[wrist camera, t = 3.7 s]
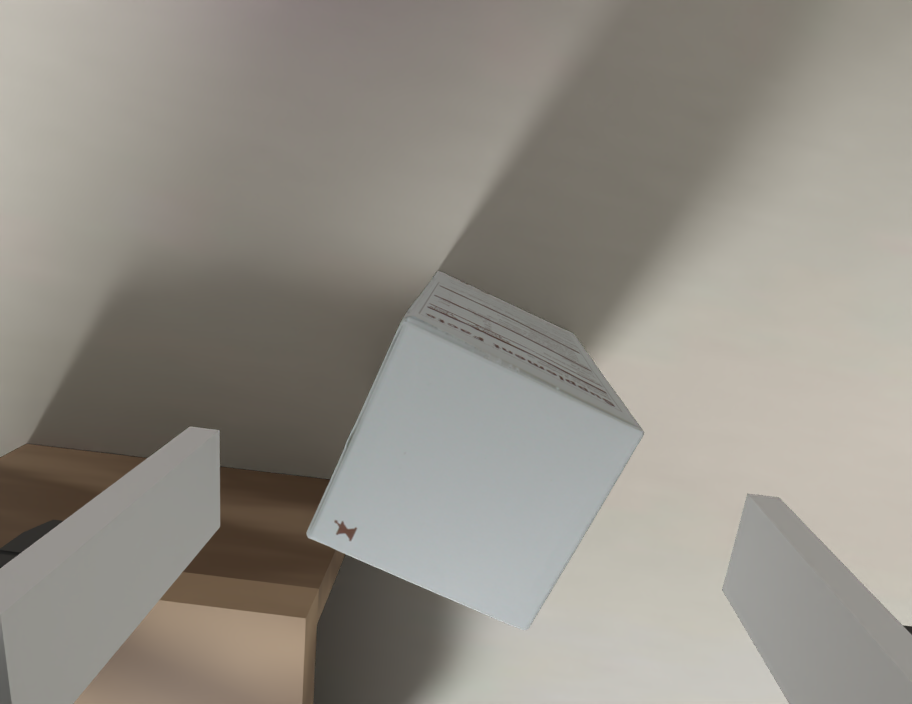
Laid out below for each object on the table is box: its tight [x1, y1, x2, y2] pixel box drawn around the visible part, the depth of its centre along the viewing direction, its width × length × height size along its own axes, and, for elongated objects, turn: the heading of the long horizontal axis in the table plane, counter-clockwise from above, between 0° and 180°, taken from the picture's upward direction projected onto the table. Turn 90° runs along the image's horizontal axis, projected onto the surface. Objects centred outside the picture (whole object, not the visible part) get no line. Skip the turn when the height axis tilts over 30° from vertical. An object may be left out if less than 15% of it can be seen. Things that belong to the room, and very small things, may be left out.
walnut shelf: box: [0, 444, 345, 704], centre depth 28 cm, size 20×18×10 cm
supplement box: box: [306, 271, 644, 630], centre depth 22 cm, size 7×7×13 cm
